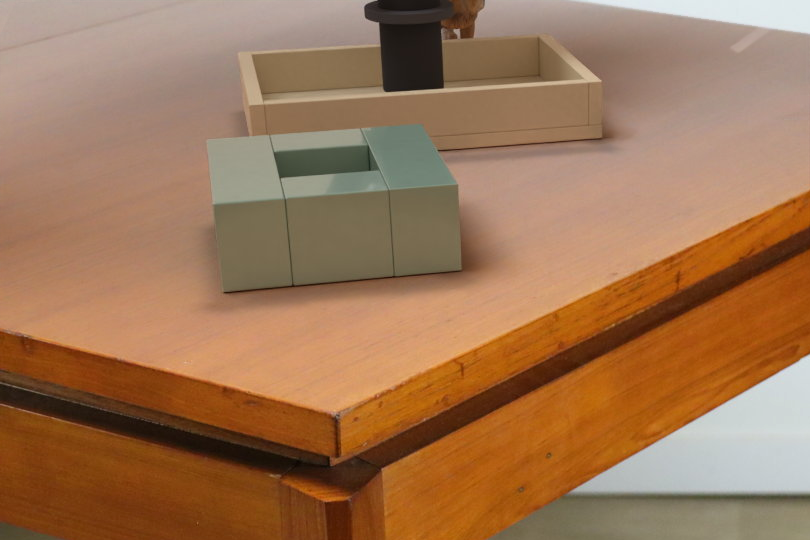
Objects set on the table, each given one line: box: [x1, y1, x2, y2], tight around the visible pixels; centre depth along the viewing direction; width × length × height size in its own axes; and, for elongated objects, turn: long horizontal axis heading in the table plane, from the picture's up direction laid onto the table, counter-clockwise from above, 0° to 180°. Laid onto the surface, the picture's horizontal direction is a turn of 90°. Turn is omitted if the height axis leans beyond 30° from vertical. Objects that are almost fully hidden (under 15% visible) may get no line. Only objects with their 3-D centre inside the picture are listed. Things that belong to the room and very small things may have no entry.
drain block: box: [205, 124, 463, 293], centre depth 70 cm, size 10×10×4 cm
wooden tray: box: [237, 33, 603, 151], centre depth 90 cm, size 20×14×3 cm
